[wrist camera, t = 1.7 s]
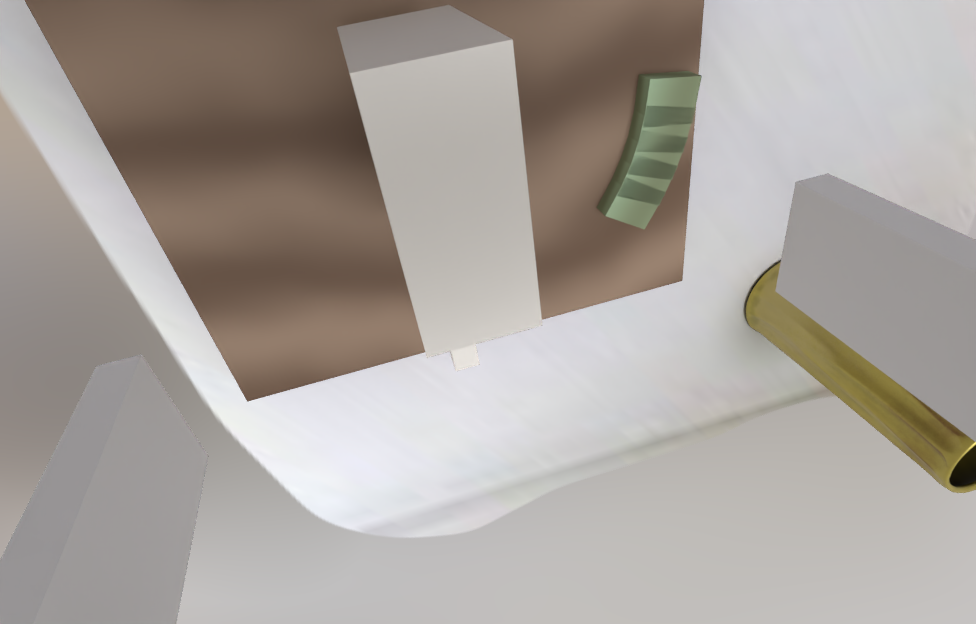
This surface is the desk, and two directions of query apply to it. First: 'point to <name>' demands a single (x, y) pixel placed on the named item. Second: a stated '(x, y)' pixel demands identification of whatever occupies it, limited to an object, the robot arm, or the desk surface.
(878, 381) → the vase
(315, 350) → the brown flat square board
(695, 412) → the desk surface
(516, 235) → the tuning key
